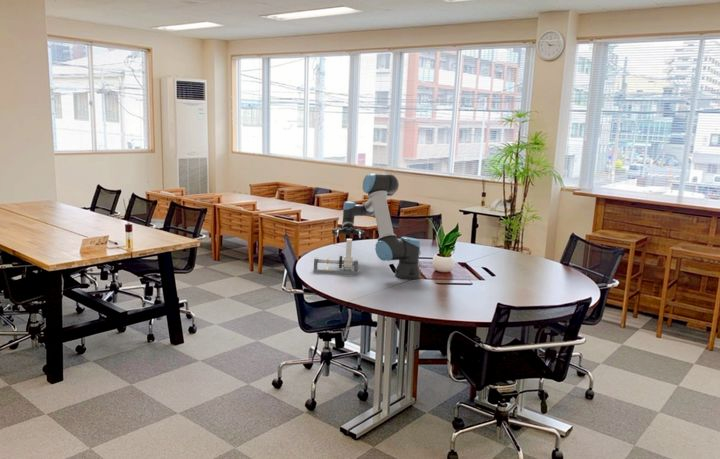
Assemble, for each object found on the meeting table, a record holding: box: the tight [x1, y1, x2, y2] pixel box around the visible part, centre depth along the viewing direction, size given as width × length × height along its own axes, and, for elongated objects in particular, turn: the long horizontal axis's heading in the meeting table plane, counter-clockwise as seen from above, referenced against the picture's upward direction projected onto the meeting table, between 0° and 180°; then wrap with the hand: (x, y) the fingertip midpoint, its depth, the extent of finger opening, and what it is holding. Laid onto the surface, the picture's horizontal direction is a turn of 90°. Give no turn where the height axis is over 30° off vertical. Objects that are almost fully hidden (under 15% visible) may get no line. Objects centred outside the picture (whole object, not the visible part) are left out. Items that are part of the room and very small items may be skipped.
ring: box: [338, 255, 343, 268], centre depth 348 cm, size 2×7×7 cm, turn 2°
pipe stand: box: [312, 257, 359, 276], centre depth 348 cm, size 26×10×8 cm, turn 92°
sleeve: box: [342, 238, 353, 269], centre depth 347 cm, size 5×7×18 cm
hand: (348, 235), depth 355 cm, fingers open, 13 cm apart
